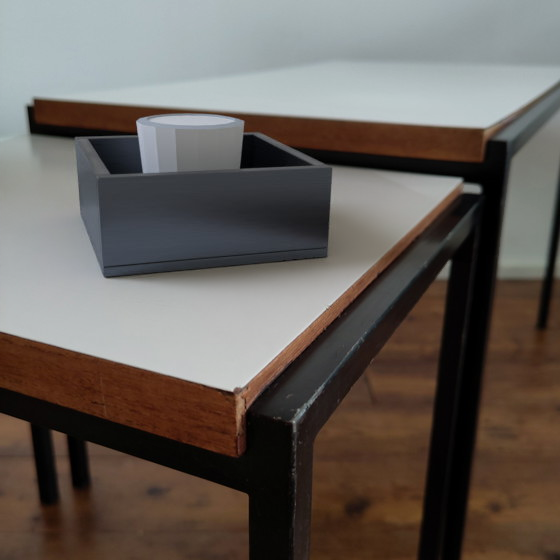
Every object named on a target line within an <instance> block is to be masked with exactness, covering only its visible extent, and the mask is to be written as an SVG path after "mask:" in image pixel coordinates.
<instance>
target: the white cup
mask: <svg viewBox="0 0 560 560" xmlns="http://www.w3.org/2000/svg"><path fill="white" fill-rule="evenodd" d="M135 122H136V123H135V124H136V130H137V131H136V132H137V135H138V139H139V146H140V154H141V161H142V169H143V173H159V172H182V171H205V170H227V169H240V161H241V151H242V141H243V133H244V129H245V120H243V119H240V118H237V117H232V116H228V115H227V116H225V115H220V114H211V113H192V112H190V113H189V112H188V113H187V112H185V113H165V114H164V113H163V114H154V115H149V116H144V117H140V118H138V119H137V120H136V121H135Z"/></svg>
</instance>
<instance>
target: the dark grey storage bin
mask: <svg viewBox="0 0 560 560" xmlns="http://www.w3.org/2000/svg"><path fill="white" fill-rule="evenodd" d="M74 144H75V159H76V173H77V185H78V187H77V188H78V199H79V213H80V217H81V220H82V222H83V225H84V227H85V230H86V233H87V235H88V238H89V241H90V243H91V246H92V250H93V252H94V255H95V257H96V260H97V263H98V265H99V268H100V271H101V273H102V277H103V278H110V277H120V276H121V277H122V276H131V275H143V274H154V273H164V272H174V271H176V272H177V271H185V270H197V269H209V268H219V267H221V268H222V267H230V266H241V265H253V264H262V263H264V264H265V263H273V262H283V260H286V261H294V260H293V259H297V260H306V259H305V258H307V259H317V257H318V258H327V257H328V255H329V254H328V252H329V248H328V247H329V233H330V220H331V219H330V217H331V203H332V202H331V201H332V183H333V181H332V180H333V167H332V166H330V165H327V164H325V163H324V162H322V161H319V160H318V159H315V158H314V157H312V156H309V155H307V154H305V153H303V152H301V151H299V150H297V149H294V148H292V147H290V146H288V145H286V144H284V143H282V142H280V141H278V140H276V139H274V138H272V137H271V136H268V135H265V134H263V133H261V132H259V131H255V132H243V141H242V151H241V161H240V169H227V170H205V171H182V172H159V173H143V169H142V161H141V154H140V146H139V139H138V134H137V135H136V134H135V135H102V136H97V135H95V136H75V137H74ZM313 257H315V258H313Z"/></svg>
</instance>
